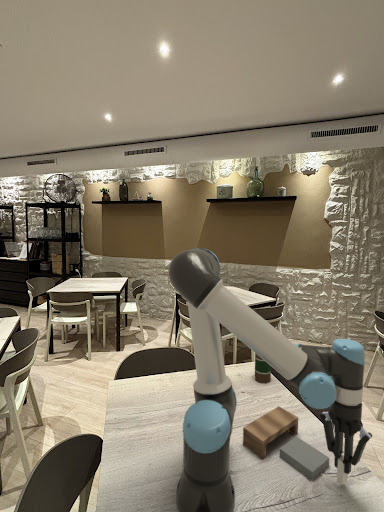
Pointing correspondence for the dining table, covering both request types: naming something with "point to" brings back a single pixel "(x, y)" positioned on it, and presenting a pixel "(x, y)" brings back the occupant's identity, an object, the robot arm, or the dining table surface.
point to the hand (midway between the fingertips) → (341, 480)
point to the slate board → (304, 458)
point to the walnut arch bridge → (268, 429)
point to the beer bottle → (262, 370)
